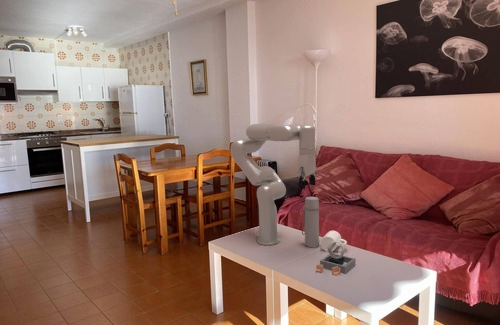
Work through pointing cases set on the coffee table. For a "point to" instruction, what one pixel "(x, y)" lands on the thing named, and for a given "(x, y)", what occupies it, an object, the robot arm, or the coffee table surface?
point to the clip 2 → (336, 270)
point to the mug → (329, 238)
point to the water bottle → (311, 221)
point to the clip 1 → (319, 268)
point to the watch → (336, 258)
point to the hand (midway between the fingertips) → (307, 186)
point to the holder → (344, 267)
